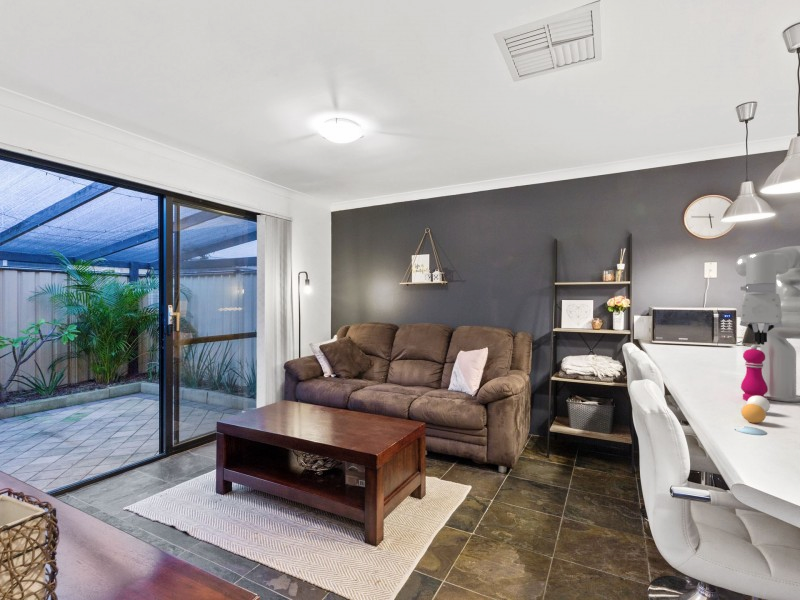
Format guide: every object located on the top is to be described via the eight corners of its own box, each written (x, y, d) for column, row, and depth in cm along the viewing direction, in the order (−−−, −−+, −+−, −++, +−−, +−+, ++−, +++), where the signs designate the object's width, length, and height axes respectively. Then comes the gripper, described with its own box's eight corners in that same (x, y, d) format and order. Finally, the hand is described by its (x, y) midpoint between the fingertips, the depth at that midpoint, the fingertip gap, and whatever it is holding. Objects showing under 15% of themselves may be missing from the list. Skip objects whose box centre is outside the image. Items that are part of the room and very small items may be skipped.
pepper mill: (773, 402, 140) (773, 345, 140) (752, 403, 140) (752, 346, 140) (755, 397, 147) (755, 343, 147) (735, 397, 148) (735, 343, 147)
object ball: (745, 418, 123) (745, 400, 123) (768, 423, 118) (768, 404, 118) (738, 421, 120) (738, 403, 120) (761, 426, 115) (761, 407, 115)
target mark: (738, 425, 117) (738, 424, 117) (770, 431, 111) (770, 431, 111) (728, 429, 114) (728, 428, 114) (760, 436, 108) (760, 435, 108)
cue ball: (751, 409, 133) (750, 392, 133) (772, 413, 128) (772, 396, 128) (744, 412, 130) (744, 395, 130) (766, 416, 125) (766, 398, 125)
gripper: (730, 289, 137) (730, 343, 138) (791, 289, 127) (791, 347, 127) (733, 290, 143) (733, 341, 143) (792, 289, 132) (792, 345, 132)
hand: (760, 344), depth 135 cm, fingers closed
